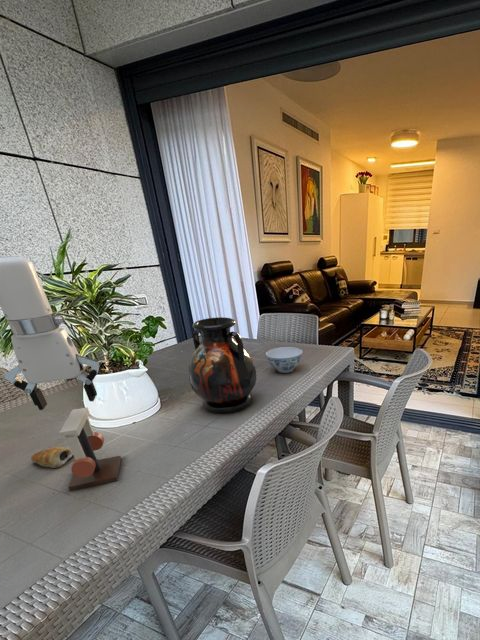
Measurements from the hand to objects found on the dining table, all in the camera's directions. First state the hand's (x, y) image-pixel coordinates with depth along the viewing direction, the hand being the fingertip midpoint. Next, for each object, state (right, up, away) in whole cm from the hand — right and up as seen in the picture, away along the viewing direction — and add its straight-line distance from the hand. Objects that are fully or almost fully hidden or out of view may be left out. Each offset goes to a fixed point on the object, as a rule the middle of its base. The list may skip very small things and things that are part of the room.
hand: (68, 403), depth 78 cm
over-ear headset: (0, -14, +8) cm, 16 cm away
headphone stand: (0, -17, +10) cm, 20 cm away
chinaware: (+42, +19, +71) cm, 84 cm away
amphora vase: (+25, +2, +43) cm, 50 cm away
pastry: (-15, -15, +15) cm, 26 cm away
